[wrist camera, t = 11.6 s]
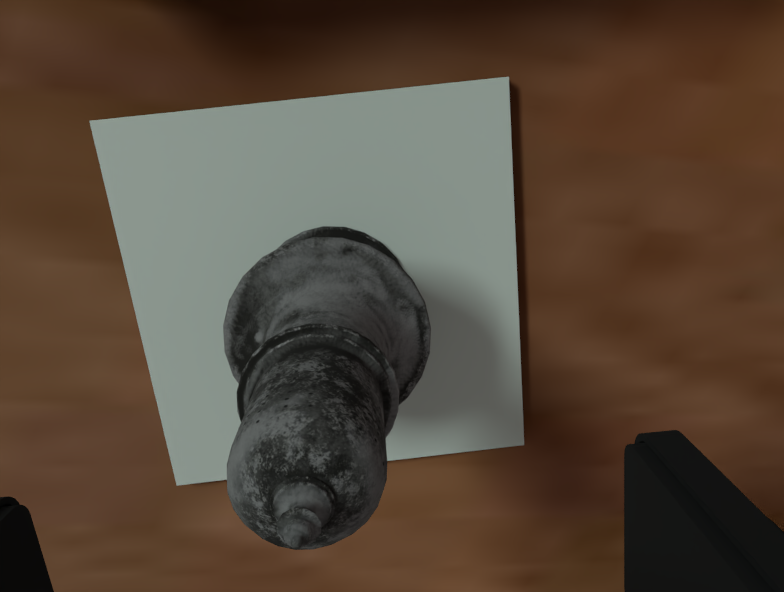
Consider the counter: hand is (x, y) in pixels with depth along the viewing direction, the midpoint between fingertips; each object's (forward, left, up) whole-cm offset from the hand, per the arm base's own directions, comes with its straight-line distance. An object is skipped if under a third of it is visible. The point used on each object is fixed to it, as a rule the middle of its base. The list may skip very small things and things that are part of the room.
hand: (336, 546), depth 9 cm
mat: (+1, -1, -12) cm, 12 cm away
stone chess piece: (+1, 0, -12) cm, 12 cm away
